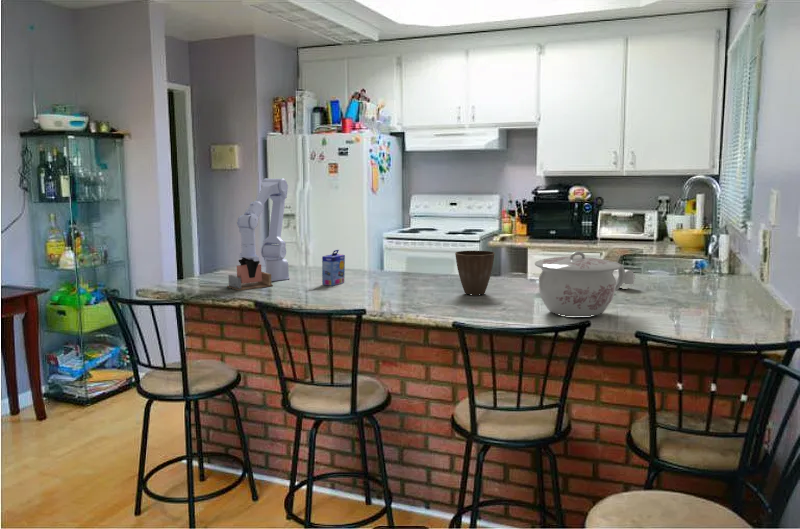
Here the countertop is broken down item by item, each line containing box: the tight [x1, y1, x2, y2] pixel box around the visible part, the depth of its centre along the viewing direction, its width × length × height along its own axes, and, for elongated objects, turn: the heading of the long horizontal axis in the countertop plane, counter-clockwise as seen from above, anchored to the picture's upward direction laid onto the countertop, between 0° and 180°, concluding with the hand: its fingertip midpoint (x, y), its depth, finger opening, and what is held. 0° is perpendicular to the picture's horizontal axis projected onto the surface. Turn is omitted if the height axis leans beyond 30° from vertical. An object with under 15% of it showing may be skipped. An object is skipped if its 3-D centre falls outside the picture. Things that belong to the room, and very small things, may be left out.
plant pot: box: [454, 250, 496, 296], centre depth 247 cm, size 15×15×16 cm
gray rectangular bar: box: [228, 274, 241, 289], centre depth 261 cm, size 1×9×4 cm, turn 39°
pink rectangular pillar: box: [236, 263, 263, 284], centre depth 265 cm, size 9×4×7 cm, turn 129°
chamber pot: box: [534, 251, 626, 316], centre depth 211 cm, size 28×28×21 cm
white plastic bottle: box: [612, 269, 636, 286], centre depth 261 cm, size 8×19×8 cm, turn 31°
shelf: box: [227, 271, 273, 291], centre depth 266 cm, size 15×10×5 cm, turn 129°
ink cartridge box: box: [321, 249, 346, 287], centre depth 270 cm, size 10×6×14 cm, turn 152°
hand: (249, 276), depth 265 cm, fingers closed on pink rectangular pillar, 4 cm apart
